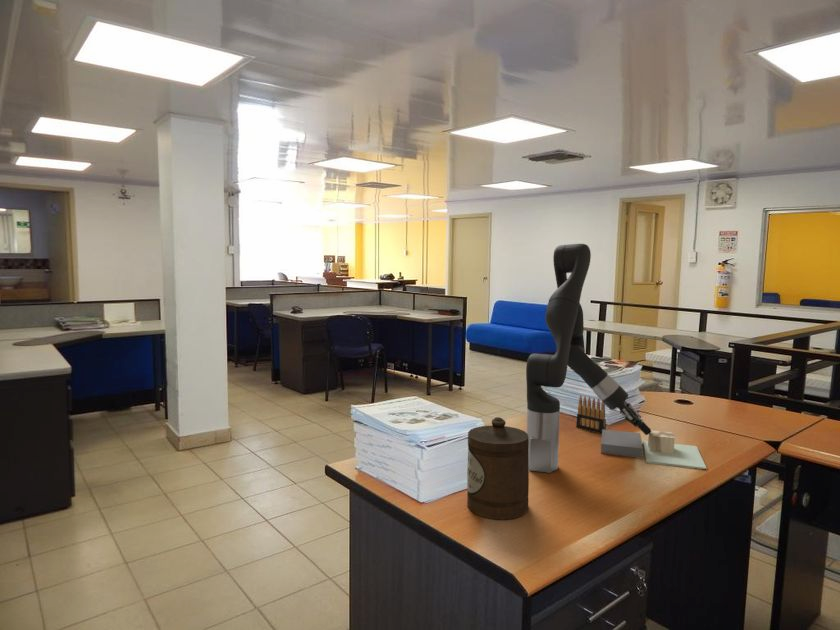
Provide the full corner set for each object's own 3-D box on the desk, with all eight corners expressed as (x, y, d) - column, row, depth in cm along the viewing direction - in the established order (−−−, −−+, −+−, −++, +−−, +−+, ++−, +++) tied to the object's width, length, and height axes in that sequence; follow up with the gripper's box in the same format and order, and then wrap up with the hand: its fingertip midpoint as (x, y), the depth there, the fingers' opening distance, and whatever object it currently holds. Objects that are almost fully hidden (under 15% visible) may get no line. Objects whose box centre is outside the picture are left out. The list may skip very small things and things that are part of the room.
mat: (706, 469, 154) (706, 467, 154) (646, 462, 160) (646, 460, 159) (696, 447, 173) (696, 446, 173) (643, 442, 178) (643, 440, 178)
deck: (642, 457, 164) (642, 448, 163) (600, 453, 168) (601, 443, 167) (639, 441, 179) (640, 433, 178) (602, 437, 183) (602, 429, 182)
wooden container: (467, 492, 139) (468, 409, 137) (525, 494, 137) (527, 411, 135) (466, 518, 124) (467, 426, 122) (531, 522, 122) (533, 428, 120)
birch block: (649, 451, 168) (673, 453, 166) (650, 435, 168) (674, 438, 165) (648, 445, 174) (671, 447, 171) (648, 430, 173) (672, 432, 171)
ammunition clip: (576, 427, 195) (577, 395, 194) (578, 426, 196) (579, 394, 195) (603, 434, 187) (604, 400, 186) (605, 432, 188) (607, 399, 187)
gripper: (618, 388, 166) (660, 431, 162) (618, 380, 178) (656, 420, 175) (600, 404, 168) (640, 446, 165) (601, 394, 180) (638, 434, 177)
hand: (648, 432), depth 170 cm, fingers closed
